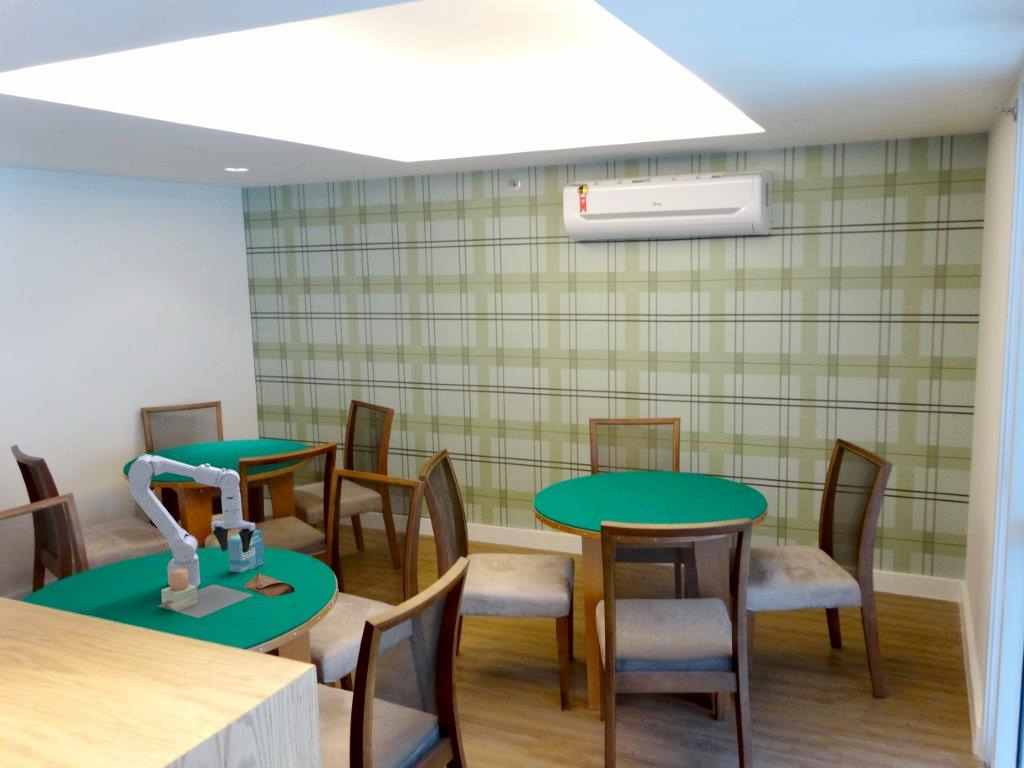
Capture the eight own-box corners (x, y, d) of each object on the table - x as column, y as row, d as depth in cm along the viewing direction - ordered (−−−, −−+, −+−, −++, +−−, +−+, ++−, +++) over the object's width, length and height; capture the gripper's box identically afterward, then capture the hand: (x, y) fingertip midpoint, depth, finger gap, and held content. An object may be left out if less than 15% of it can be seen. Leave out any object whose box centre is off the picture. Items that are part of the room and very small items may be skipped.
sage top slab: (161, 598, 247) (161, 589, 247) (182, 590, 253) (181, 582, 253) (177, 602, 243) (176, 594, 243) (197, 594, 249) (197, 586, 249)
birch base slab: (162, 606, 247) (161, 598, 247) (182, 598, 253) (182, 590, 253) (177, 611, 244) (177, 602, 243) (198, 602, 250) (197, 594, 249)
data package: (240, 575, 275) (238, 540, 273) (229, 574, 277) (227, 538, 275) (264, 564, 286) (262, 529, 284) (253, 562, 288) (251, 528, 286)
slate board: (157, 609, 248) (157, 605, 248) (213, 587, 265) (213, 584, 265) (198, 621, 239) (198, 618, 238) (253, 598, 256) (253, 594, 255)
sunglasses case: (236, 589, 263) (244, 568, 264) (253, 594, 268) (261, 574, 270) (272, 602, 252) (281, 580, 254) (289, 607, 257) (298, 586, 259)
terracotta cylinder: (166, 588, 247) (165, 572, 247) (182, 583, 251) (181, 567, 251) (176, 592, 245) (175, 575, 244) (192, 587, 249) (191, 570, 248)
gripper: (204, 511, 264) (207, 553, 265) (244, 513, 259) (248, 556, 261) (217, 505, 270) (221, 546, 272) (257, 507, 266) (261, 549, 268)
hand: (235, 551), depth 267 cm, fingers open, 7 cm apart
